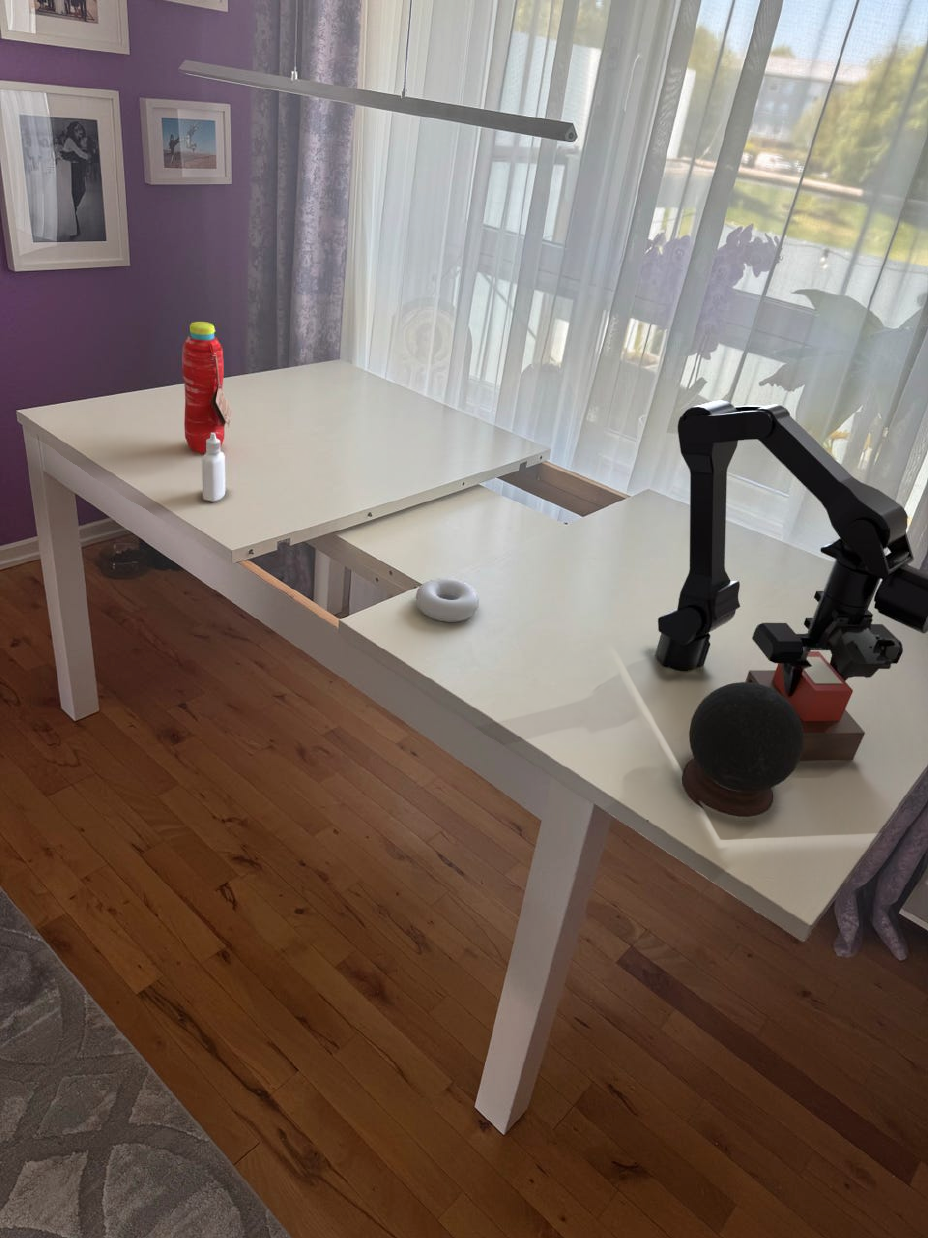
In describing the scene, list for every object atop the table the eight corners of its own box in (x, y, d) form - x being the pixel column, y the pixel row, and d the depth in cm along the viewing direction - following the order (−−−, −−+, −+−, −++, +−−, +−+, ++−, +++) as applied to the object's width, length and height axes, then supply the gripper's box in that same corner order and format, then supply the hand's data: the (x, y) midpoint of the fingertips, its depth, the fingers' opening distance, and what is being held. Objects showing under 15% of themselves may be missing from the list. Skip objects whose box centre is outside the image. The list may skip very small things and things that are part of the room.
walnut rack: (783, 766, 119) (796, 734, 116) (738, 700, 131) (749, 670, 128) (851, 764, 121) (865, 732, 118) (800, 700, 133) (812, 670, 130)
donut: (456, 634, 136) (489, 607, 144) (459, 615, 135) (492, 588, 142) (401, 610, 140) (436, 585, 148) (403, 591, 138) (438, 567, 146)
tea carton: (802, 721, 119) (815, 690, 116) (771, 680, 126) (782, 650, 123) (840, 721, 120) (853, 690, 117) (807, 680, 127) (819, 650, 125)
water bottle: (243, 457, 182) (243, 331, 169) (208, 465, 176) (206, 336, 163) (210, 437, 188) (207, 314, 175) (175, 444, 183) (170, 318, 170)
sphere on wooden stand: (785, 777, 117) (823, 683, 109) (772, 842, 106) (814, 743, 99) (685, 742, 121) (715, 648, 113) (663, 801, 110) (695, 703, 102)
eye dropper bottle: (194, 495, 164) (191, 432, 158) (218, 487, 169) (217, 426, 162) (209, 504, 162) (208, 440, 156) (234, 496, 166) (233, 433, 160)
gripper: (812, 630, 106) (771, 734, 114) (950, 631, 110) (901, 732, 118) (768, 581, 115) (734, 681, 123) (897, 584, 119) (855, 681, 127)
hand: (807, 694), depth 123 cm, fingers closed on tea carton, 5 cm apart
